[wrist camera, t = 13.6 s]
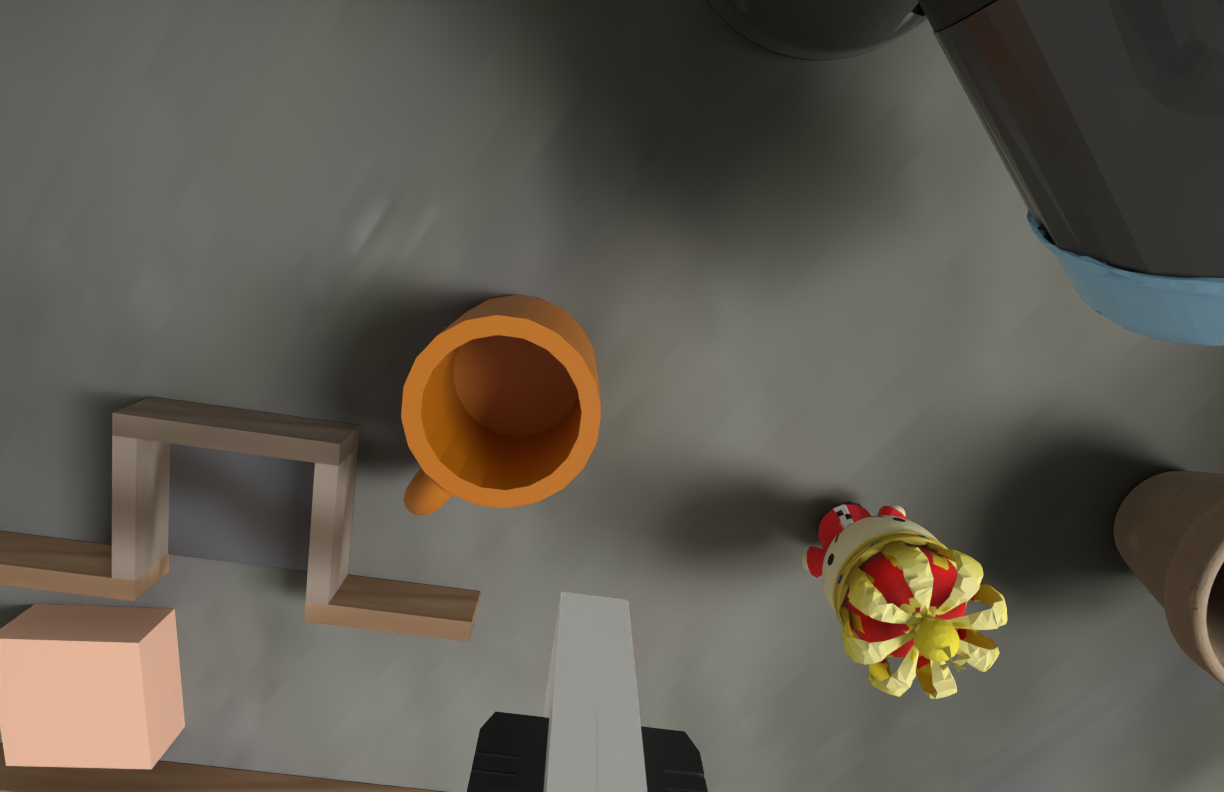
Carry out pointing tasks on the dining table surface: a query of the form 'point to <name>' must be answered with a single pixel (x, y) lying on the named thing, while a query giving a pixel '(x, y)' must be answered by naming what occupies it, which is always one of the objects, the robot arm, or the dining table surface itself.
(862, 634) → the toy
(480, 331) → the mug
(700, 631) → the dining table surface
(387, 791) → the wooden tray frame
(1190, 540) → the flower pot
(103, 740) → the block
